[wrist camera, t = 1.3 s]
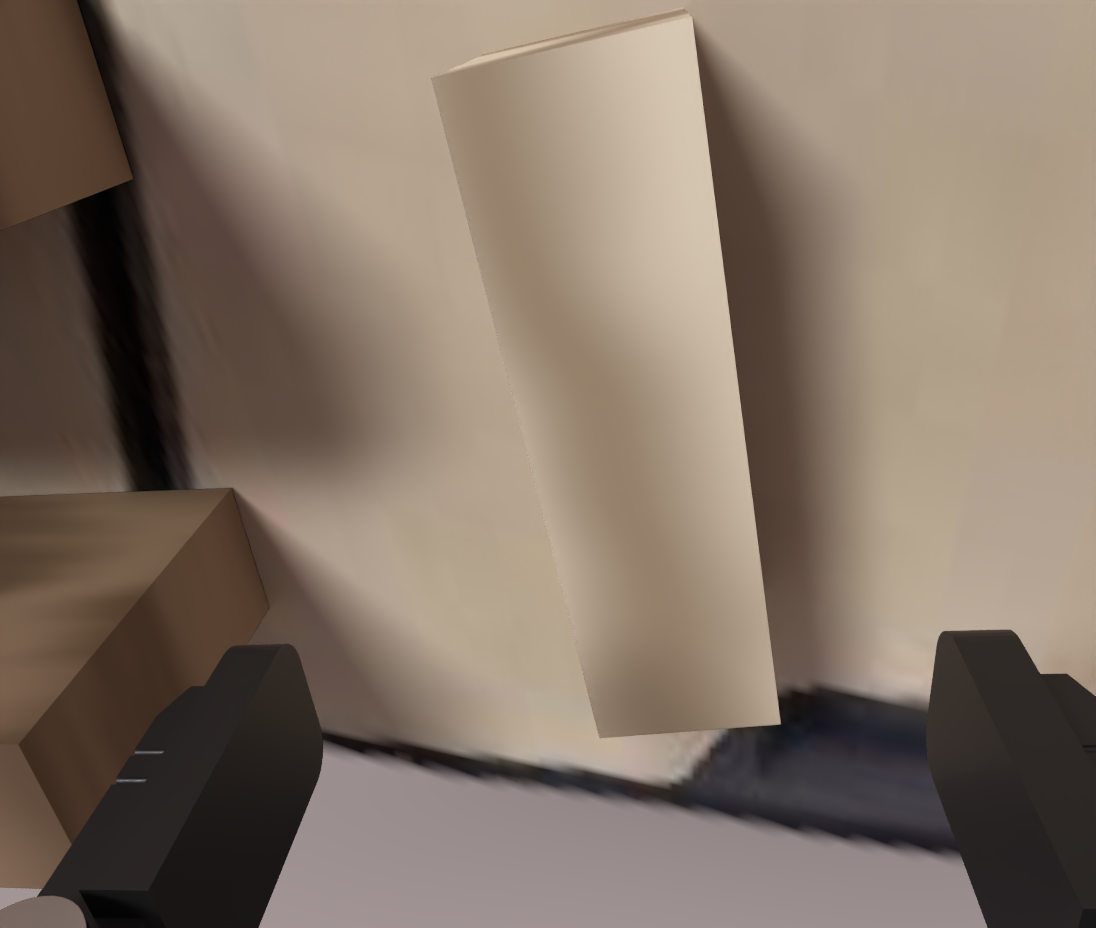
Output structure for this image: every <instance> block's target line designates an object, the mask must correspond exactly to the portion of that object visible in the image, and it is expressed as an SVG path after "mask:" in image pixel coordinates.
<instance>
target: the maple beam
mask: <svg viewBox="0 0 1096 928" xmlns="http://www.w3.org/2000/svg"><path fill="white" fill-rule="evenodd" d="M431 80H432V84H433V87H434V91H435V95H436V99H437V103H438V107H439V111H440V115H441V119H442V123H443V127H444V131H445V134H446V138H447V142H448V146H449V150H450V154H451V158H452V162H453V166H454V170H455V174H456V178H457V181H458V185H459V189H460V193H461V197H462V201H463V205H464V209H465V213H466V217H467V221H468V225H469V229H470V232H471V236H472V240H473V244H474V248H475V252H476V256H477V260H478V264H479V268H480V272H481V276H482V279H483V283H484V287H485V291H486V295H487V299H488V303H489V307H490V311H491V315H492V319H493V323H494V326H495V330H496V334H497V338H498V342H499V346H500V350H501V354H502V358H503V362H504V366H505V370H506V373H507V377H508V381H509V385H510V389H511V393H512V397H513V401H514V405H515V409H516V413H517V417H518V420H519V424H520V428H521V432H522V436H523V440H524V444H525V448H526V452H527V456H528V460H529V464H530V468H531V471H532V475H533V479H534V483H535V487H536V491H537V495H538V499H539V503H540V507H541V511H542V515H543V518H544V522H545V526H546V530H547V534H548V538H549V542H550V546H551V550H552V554H553V558H554V562H555V565H556V569H557V573H558V577H559V581H560V585H561V589H562V593H563V597H564V601H565V605H566V609H567V612H568V616H569V620H570V624H571V628H572V632H573V636H574V640H575V644H576V648H577V652H578V656H579V659H580V663H581V667H582V671H583V675H584V679H585V683H586V687H587V691H588V695H589V699H590V703H591V707H592V710H593V714H594V718H595V722H596V726H597V730H598V734H599V738H608V737H621V736H634V735H647V734H660V733H673V732H687V731H700V730H713V729H726V728H739V727H752V726H765V725H778V724H781V722H780V714H779V706H778V698H777V690H776V682H775V674H774V666H773V658H772V650H771V642H770V634H769V626H768V618H767V610H766V603H765V595H764V587H763V579H762V571H761V563H760V555H759V547H758V539H757V531H756V523H755V515H754V507H753V499H752V491H751V483H750V475H749V467H748V459H747V451H746V443H745V435H744V427H743V419H742V411H741V403H740V395H739V387H738V379H737V371H736V363H735V355H734V347H733V339H732V331H731V323H730V315H729V307H728V299H727V291H726V284H725V276H724V268H723V260H722V252H721V244H720V236H719V228H718V220H717V212H716V204H715V196H714V188H713V180H712V172H711V164H710V156H709V148H708V140H707V132H706V124H705V116H704V108H703V100H702V92H701V84H700V76H699V68H698V60H697V52H696V44H695V36H694V28H693V20H692V17H691V16H690V15H689V13H688V12H687V11H686V10H685V9H684V7H682V8H678V9H674V10H669V11H665V12H661V13H657V14H652V15H648V16H644V17H640V18H635V19H631V20H627V21H623V22H618V23H614V24H610V25H606V26H601V27H597V28H593V29H589V30H584V31H580V32H576V33H572V34H567V35H563V36H559V37H555V38H551V39H546V40H542V41H538V42H534V43H529V44H525V45H521V46H517V47H512V48H508V49H504V50H500V51H495V52H491V53H487V54H483V55H481V56H479V57H477V58H475V59H472V60H470V61H468V62H466V63H464V64H462V65H459V66H457V67H455V68H453V69H451V70H449V71H446V72H444V73H442V74H440V75H438V76H436V77H433V78H431Z"/></svg>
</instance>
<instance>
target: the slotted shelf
mask: <svg viewBox="0 0 1096 928" xmlns="http://www.w3.org/2000/svg"><path fill="white" fill-rule="evenodd" d="M132 179H133V176H132V173H131V170H130V167H129V163H128V160H127V157H126V154H125V151H124V148H123V144H122V141H121V138H120V135H119V132H118V129H117V125H116V122H115V119H114V116H113V113H112V110H111V107H110V103H109V100H108V97H107V94H106V91H105V88H104V84H103V81H102V78H101V75H100V72H99V69H98V65H97V62H96V59H95V56H94V53H93V50H92V46H91V43H90V40H89V37H88V34H87V31H86V28H85V24H84V21H83V18H82V15H81V12H80V9H79V5H78V2H77V0H0V231H1V230H3V229H6V228H8V227H11V226H13V225H16V224H19V223H21V222H24V221H26V220H29V219H31V218H34V217H37V216H39V215H42V214H44V213H47V212H49V211H52V210H55V209H57V208H60V207H62V206H65V205H67V204H70V203H73V202H75V201H78V200H80V199H83V198H85V197H88V196H91V195H93V194H96V193H98V192H101V191H103V190H106V189H109V188H111V187H114V186H116V185H119V184H122V183H124V182H127V181H129V180H132ZM268 609H269V606H268V603H267V599H266V596H265V593H264V590H263V587H262V584H261V580H260V577H259V574H258V571H257V568H256V565H255V561H254V558H253V555H252V552H251V549H250V546H249V542H248V539H247V536H246V533H245V530H244V527H243V524H242V520H241V517H240V514H239V511H238V508H237V505H236V501H235V498H234V495H233V492H232V489H231V488H219V489H193V490H167V491H140V492H114V493H88V494H61V495H35V496H8V497H0V887H2V888H32V889H33V888H34V889H43V888H44V886H45V884H46V883H47V881H48V880H49V878H50V877H51V875H52V874H53V872H54V871H55V869H56V868H57V866H58V865H59V863H60V862H61V860H62V859H63V857H64V856H65V854H66V853H67V851H68V850H69V848H70V847H71V845H72V843H73V842H74V840H75V839H76V837H77V836H78V834H79V833H80V831H81V830H82V828H83V827H84V825H85V824H86V822H87V821H88V819H89V818H90V816H91V815H92V813H93V812H94V810H95V809H96V807H97V806H98V804H99V803H100V801H101V799H102V798H103V796H104V795H105V793H106V792H107V790H108V789H109V787H110V786H111V784H116V781H117V779H116V777H117V775H118V774H119V772H120V771H121V769H122V768H123V766H124V765H125V763H126V762H127V760H128V758H129V757H130V756H134V754H135V748H136V746H137V745H138V743H139V742H140V740H141V739H142V737H143V736H144V734H145V733H146V731H147V730H148V728H149V727H150V725H151V724H152V722H153V721H154V719H155V717H156V716H157V715H158V714H159V713H160V712H162V711H163V710H164V709H165V708H166V707H167V706H169V705H170V704H171V703H172V702H173V701H174V700H176V699H177V698H178V697H179V696H180V695H181V694H183V693H184V692H185V691H186V690H187V689H188V688H190V687H191V686H205V684H206V682H207V681H208V679H209V677H210V676H211V674H212V673H213V671H214V669H215V668H216V666H217V665H218V663H219V661H220V660H221V658H222V656H223V655H224V654H225V652H226V651H227V650H228V649H229V648H230V647H232V646H236V645H247V644H248V642H249V640H250V639H251V637H252V635H253V634H254V632H255V631H256V629H257V627H258V626H259V624H260V622H261V621H262V619H263V618H264V616H265V614H266V613H267V611H268Z"/></svg>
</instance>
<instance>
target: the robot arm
mask: <svg viewBox="0 0 1096 928" xmlns="http://www.w3.org/2000/svg"><path fill="white" fill-rule="evenodd" d="M926 744H927V754H928V760H929V766H930V770H931V774H932V778H933V781H934V784H935V786H936V789H937V792H938V794H939V797H940V800H941V803H942V805H943V808H944V811H945V813H946V816H947V819H948V822H949V824H950V827H951V830H952V832H953V835H954V838H955V840H956V843H957V846H958V849H959V851H960V854H961V857H962V859H963V862H964V865H965V868H966V870H967V873H968V876H969V878H970V881H971V884H972V886H973V889H974V892H975V895H976V897H977V900H978V903H979V905H980V908H981V910H982V914H983V916H984V919H985V922H986V924H987V927H988V928H1096V696H1094V695H1093V694H1092V693H1091V692H1089V691H1088V690H1087V689H1085V688H1084V687H1083V686H1082V685H1080V684H1079V683H1078V682H1077V681H1075V680H1074V679H1073V678H1072V677H1070V676H1069V675H1068V674H1040V673H1039V671H1038V670H1037V668H1036V666H1035V664H1034V663H1033V661H1032V659H1031V657H1030V656H1029V654H1028V652H1027V651H1026V649H1025V647H1024V645H1023V644H1022V642H1021V640H1020V639H1019V637H1018V636H1017V635H1016V634H1015V633H1014V632H1013V631H1011V630H971V631H944V632H942V633H941V634H940V636H939V639H938V642H937V648H936V656H935V664H934V671H933V679H932V686H931V694H930V702H929V709H928V717H927V725H926ZM322 758H323V738H322V732H321V727H320V724H319V721H318V717H317V714H316V711H315V708H314V704H313V701H312V698H311V694H310V691H309V688H308V684H307V681H306V678H305V674H304V671H303V668H302V665H301V661H300V658H299V655H298V653H297V651H296V649H295V648H294V647H293V646H292V645H289V644H274V645H236V646H232V647H230V648H229V649H228V650H227V651H226V652H225V654H224V655H223V656H222V658H221V660H220V661H219V663H218V665H217V666H216V668H215V669H214V671H213V673H212V674H211V676H210V677H209V679H208V681H207V682H206V684H205V686H191V687H190V688H188V689H187V690H186V691H185V692H184V693H183V694H181V695H180V696H179V697H178V698H177V699H176V700H174V701H173V702H172V703H171V704H170V705H169V706H167V707H166V708H165V709H164V710H163V711H162V712H160V713H159V714H158V715H157V716H156V717H155V719H154V721H153V722H152V724H151V725H150V727H149V728H148V730H147V731H146V733H145V734H144V736H143V737H142V739H141V740H140V742H139V743H138V745H137V746H136V748H135V754H134V756H130V757H129V758H128V760H127V762H126V763H125V765H124V766H123V768H122V769H121V771H120V772H119V774H118V775H117V777H116V779H117V781H116V784H111V786H110V787H109V789H108V790H107V792H106V793H105V795H104V796H103V798H102V799H101V801H100V803H99V804H98V806H97V807H96V809H95V810H94V812H93V813H92V815H91V816H90V818H89V819H88V821H87V822H86V824H85V825H84V827H83V828H82V830H81V831H80V833H79V834H78V836H77V837H76V839H75V840H74V842H73V843H72V845H71V847H70V848H69V850H68V851H67V853H66V854H65V856H64V857H63V859H62V860H61V862H60V863H59V865H58V866H57V868H56V869H55V871H54V872H53V874H52V875H51V877H50V878H49V880H48V881H47V883H46V884H45V886H44V888H43V889H42V890H41V892H40V893H39V895H38V896H37V897H34V898H30V899H26V900H23V901H20V902H17V903H15V904H12V905H10V906H7V907H5V908H3V909H1V910H0V928H258V927H259V925H260V922H261V920H262V917H263V915H264V912H265V910H266V907H267V905H268V903H269V900H270V897H271V895H272V893H273V890H274V888H275V885H276V883H277V880H278V878H279V875H280V873H281V870H282V868H283V865H284V863H285V860H286V858H287V855H288V853H289V850H290V848H291V845H292V843H293V840H294V838H295V835H296V833H297V830H298V828H299V826H300V823H301V821H302V818H303V816H304V813H305V811H306V808H307V806H308V803H309V801H310V798H311V795H312V793H313V791H314V788H315V786H316V783H317V781H318V778H319V774H320V771H321V765H322Z"/></svg>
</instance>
